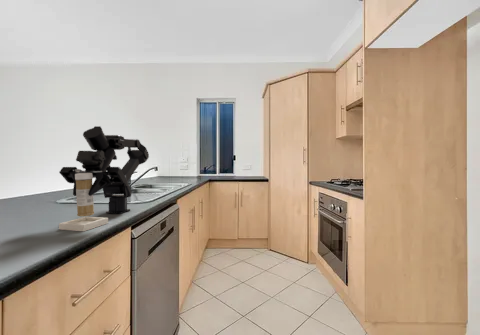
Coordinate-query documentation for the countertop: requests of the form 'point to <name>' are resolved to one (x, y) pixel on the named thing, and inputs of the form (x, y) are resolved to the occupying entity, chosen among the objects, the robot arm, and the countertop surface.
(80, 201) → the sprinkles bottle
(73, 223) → the tray
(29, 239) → the countertop surface
